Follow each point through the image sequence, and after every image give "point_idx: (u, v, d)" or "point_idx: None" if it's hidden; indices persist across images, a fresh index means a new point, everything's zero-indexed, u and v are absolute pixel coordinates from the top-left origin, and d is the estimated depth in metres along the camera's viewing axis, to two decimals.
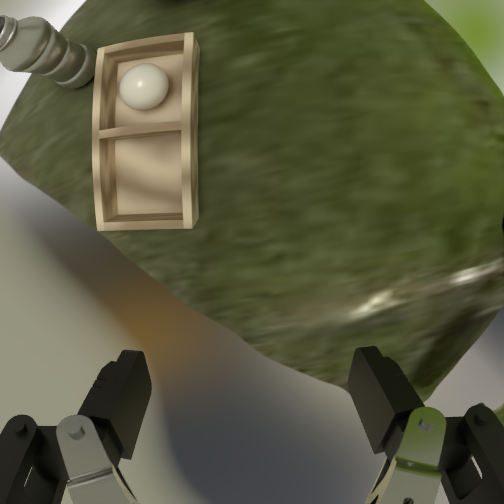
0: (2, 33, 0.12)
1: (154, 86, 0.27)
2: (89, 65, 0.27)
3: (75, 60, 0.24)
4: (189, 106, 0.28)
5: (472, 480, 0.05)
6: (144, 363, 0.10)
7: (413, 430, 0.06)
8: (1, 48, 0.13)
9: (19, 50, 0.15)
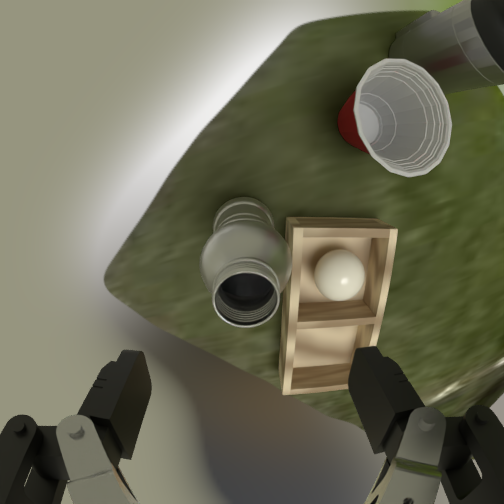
0: (275, 312, 0.16)
1: (360, 288, 0.32)
2: None
3: None
4: (384, 305, 0.33)
5: (472, 480, 0.05)
6: (144, 363, 0.10)
7: (413, 430, 0.06)
8: None
9: None
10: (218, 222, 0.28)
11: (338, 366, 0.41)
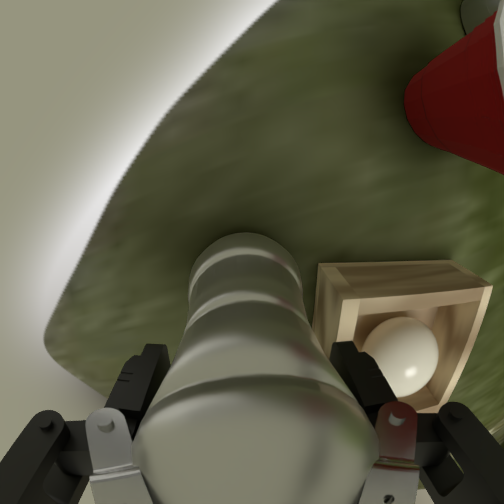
0: None
1: None
2: None
3: None
4: (452, 388, 0.18)
5: (453, 475, 0.05)
6: (167, 357, 0.10)
7: (384, 426, 0.06)
8: None
9: None
10: (193, 297, 0.13)
11: None
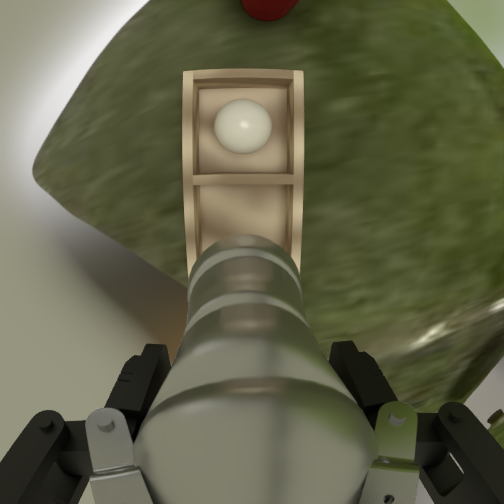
0: None
1: (263, 131, 0.27)
2: None
3: None
4: (302, 159, 0.28)
5: (453, 475, 0.05)
6: (167, 357, 0.10)
7: (384, 426, 0.06)
8: None
9: None
10: (193, 299, 0.13)
11: None
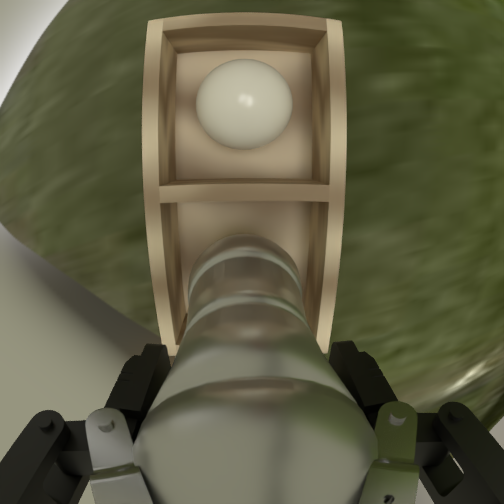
0: None
1: (280, 110, 0.15)
2: None
3: None
4: (344, 159, 0.16)
5: (453, 475, 0.05)
6: (167, 356, 0.10)
7: (384, 426, 0.06)
8: None
9: None
10: (193, 299, 0.13)
11: None
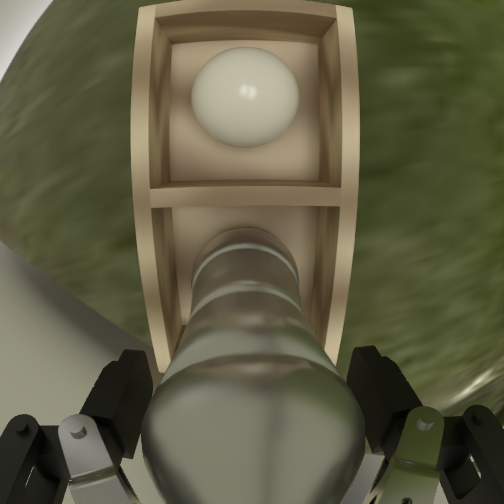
0: None
1: (286, 103, 0.13)
2: None
3: None
4: (357, 159, 0.14)
5: (471, 479, 0.05)
6: (146, 363, 0.10)
7: (411, 430, 0.06)
8: None
9: None
10: (196, 289, 0.14)
11: None
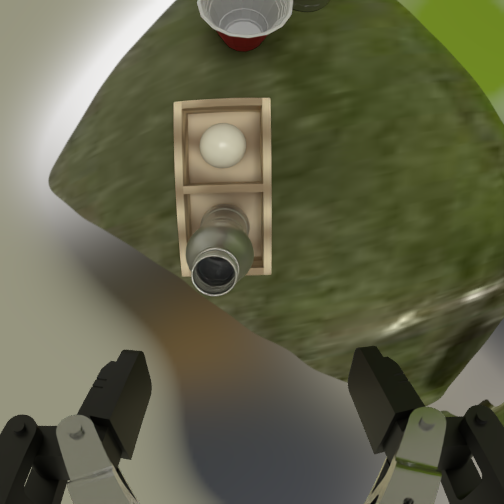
0: None
1: (238, 150, 0.34)
2: None
3: None
4: (270, 171, 0.36)
5: (472, 480, 0.05)
6: (144, 363, 0.10)
7: (413, 430, 0.06)
8: None
9: None
10: (203, 224, 0.36)
11: None
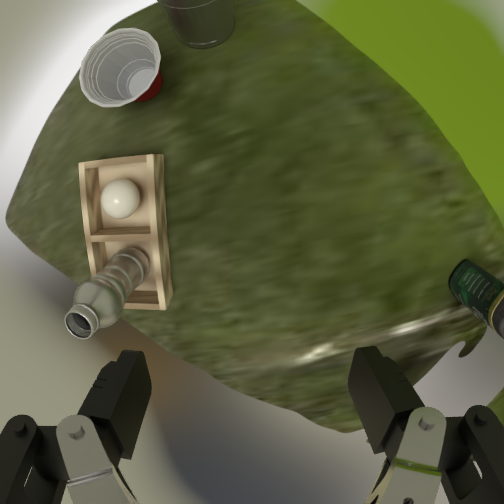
0: (92, 333, 0.27)
1: (127, 205, 0.38)
2: (145, 276, 0.43)
3: (135, 284, 0.40)
4: (155, 222, 0.39)
5: (472, 480, 0.05)
6: (144, 363, 0.10)
7: (413, 430, 0.06)
8: (91, 332, 0.29)
9: (104, 325, 0.31)
10: None
11: (153, 292, 0.47)
